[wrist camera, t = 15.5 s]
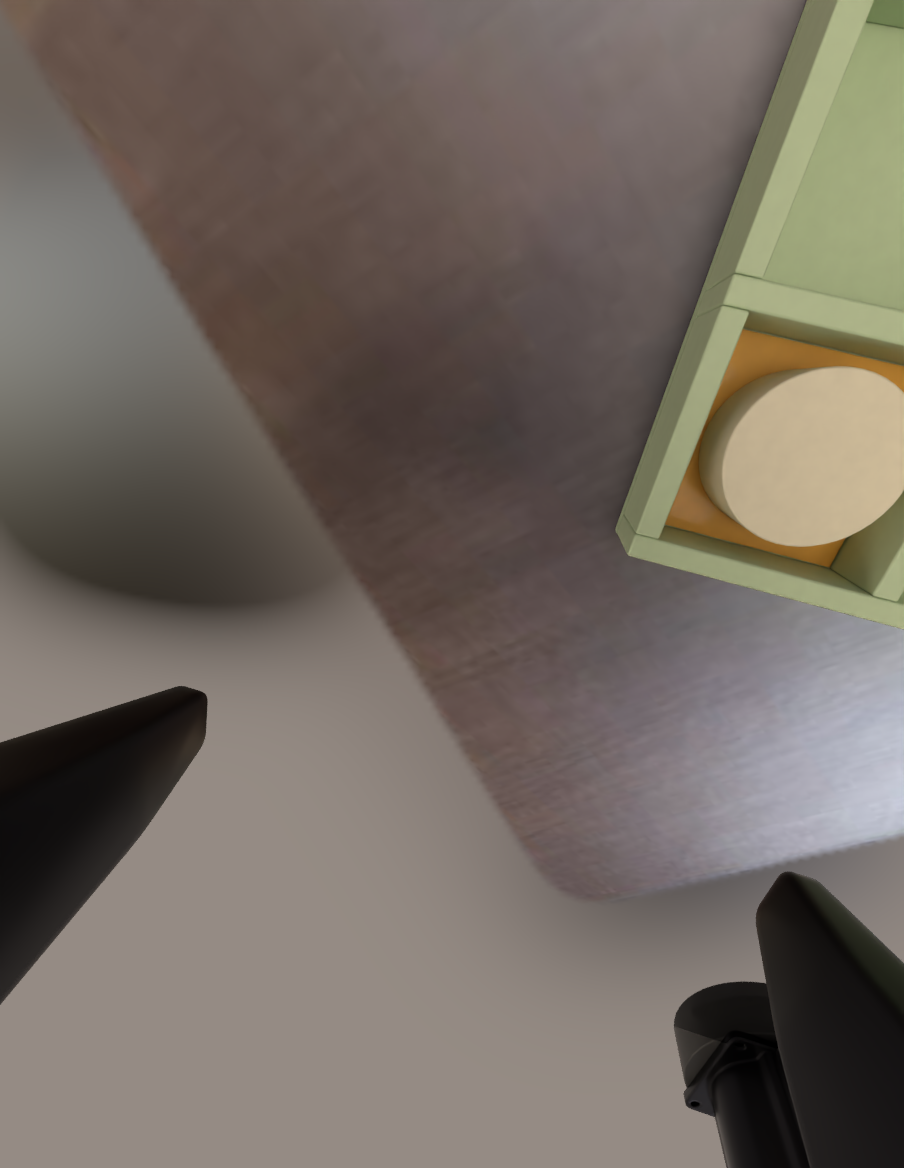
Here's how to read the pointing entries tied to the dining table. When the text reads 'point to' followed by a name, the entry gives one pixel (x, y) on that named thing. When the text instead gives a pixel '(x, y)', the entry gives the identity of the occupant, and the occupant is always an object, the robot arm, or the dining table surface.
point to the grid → (795, 309)
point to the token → (806, 454)
